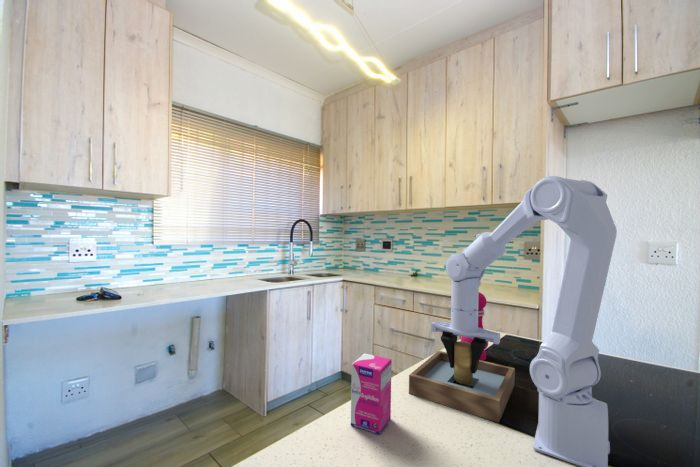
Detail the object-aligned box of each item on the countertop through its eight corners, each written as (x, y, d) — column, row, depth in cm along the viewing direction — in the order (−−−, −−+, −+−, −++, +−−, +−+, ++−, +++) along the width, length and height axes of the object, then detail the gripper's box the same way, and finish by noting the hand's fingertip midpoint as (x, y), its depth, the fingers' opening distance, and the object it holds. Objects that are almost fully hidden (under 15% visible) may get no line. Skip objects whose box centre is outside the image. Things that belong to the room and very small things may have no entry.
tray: (514, 385, 74) (514, 368, 74) (498, 422, 60) (499, 401, 59) (438, 365, 85) (438, 350, 85) (408, 393, 70) (409, 375, 70)
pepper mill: (491, 363, 87) (492, 289, 87) (463, 361, 88) (464, 287, 88) (484, 353, 94) (485, 284, 94) (458, 351, 95) (459, 283, 95)
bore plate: (508, 385, 74) (509, 377, 74) (494, 418, 61) (494, 407, 61) (440, 368, 83) (440, 360, 83) (415, 392, 70) (415, 383, 70)
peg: (474, 379, 72) (475, 343, 72) (469, 386, 69) (470, 349, 69) (457, 374, 75) (457, 340, 75) (451, 381, 72) (451, 345, 71)
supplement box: (349, 426, 58) (350, 362, 58) (363, 410, 63) (364, 352, 63) (379, 436, 55) (380, 369, 55) (391, 419, 60) (392, 357, 60)
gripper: (503, 309, 71) (502, 371, 71) (439, 300, 79) (438, 355, 80) (496, 316, 65) (495, 383, 65) (428, 305, 74) (427, 365, 74)
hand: (463, 369), depth 72 cm, fingers closed on peg, 4 cm apart
